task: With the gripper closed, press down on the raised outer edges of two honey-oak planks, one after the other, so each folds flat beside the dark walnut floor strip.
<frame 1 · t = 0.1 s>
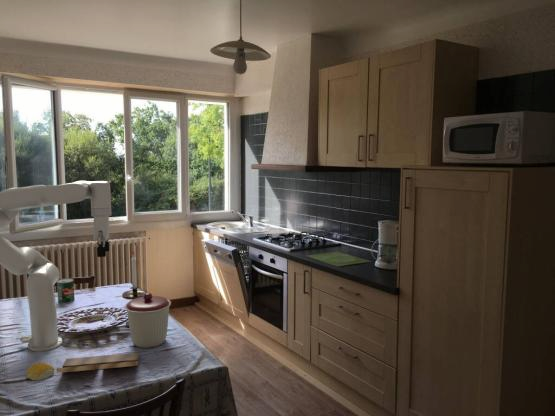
hand: (103, 253, 189), 37 cm above the table, tool pointing down, fingers open, 9 cm apart
candlestick: (136, 324, 211), on the table
bread roll: (40, 375, 165), on the table
canister: (149, 343, 192), on the table
canned tomato: (66, 301, 242), on the table
oak plank left: (78, 368, 163), point 3 cm above the table, hinge at 25.0°
oak plank right: (119, 364, 166), point 3 cm above the table, hinge at 25.0°
walnut floor strip: (102, 364, 173), on the table
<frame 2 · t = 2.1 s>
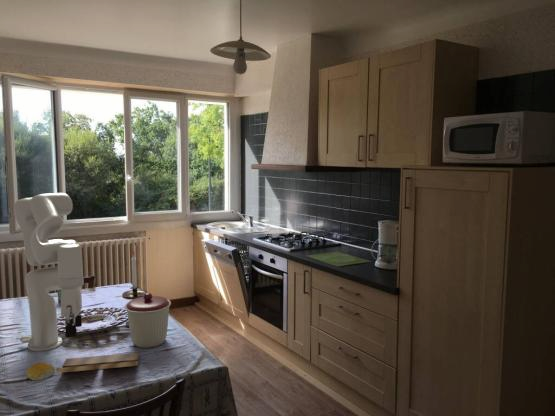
hand: (74, 331, 157), 18 cm above the table, tool pointing down, fingers open, 8 cm apart
nothing on the table moved.
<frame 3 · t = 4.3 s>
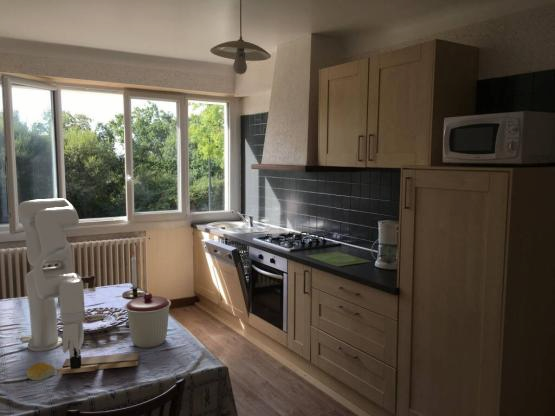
hand: (76, 367, 159), 5 cm above the table, tool pointing down, fingers closed
oak plank left: (78, 369, 163), point 3 cm above the table, hinge at 22.7°, touching gripper
everything else where it was.
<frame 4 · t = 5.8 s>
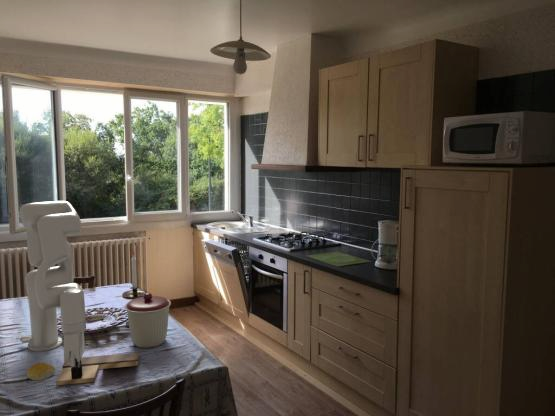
hand: (77, 377, 159), 2 cm above the table, tool pointing down, fingers closed
oak plank left: (78, 374, 163), point 1 cm above the table, hinge at 1.6°, touching gripper
everything else where it was.
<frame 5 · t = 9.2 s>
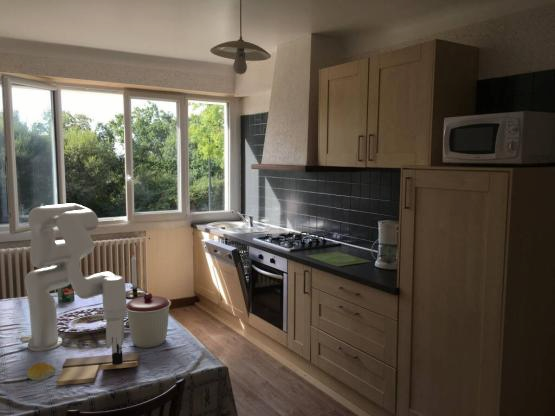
hand: (117, 363, 162), 6 cm above the table, tool pointing down, fingers closed
oak plank left: (78, 374, 163), point 1 cm above the table, hinge at 1.2°
oak plank right: (119, 365, 166), point 3 cm above the table, hinge at 23.4°, touching gripper
everything else where it was.
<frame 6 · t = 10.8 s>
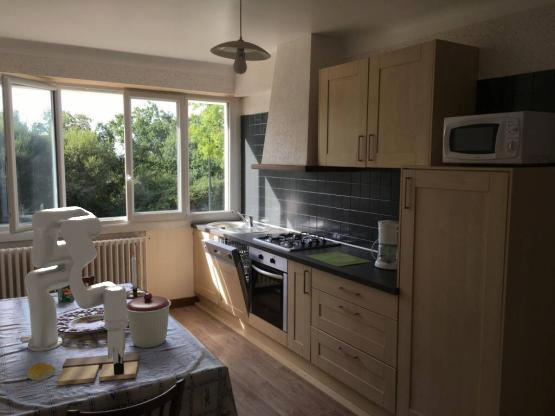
hand: (119, 373, 162), 2 cm above the table, tool pointing down, fingers closed
oak plank right: (119, 370, 165), point 1 cm above the table, hinge at 2.0°, touching gripper
everything else where it was.
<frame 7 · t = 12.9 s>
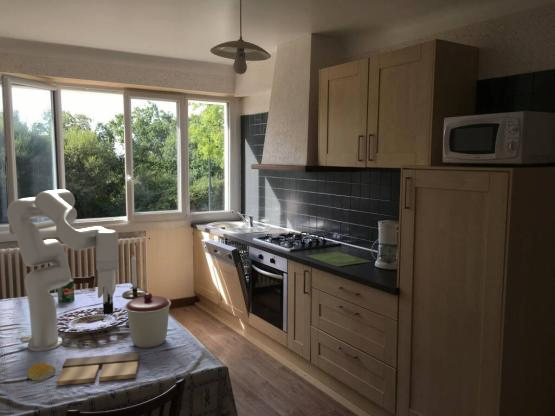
hand: (108, 313, 170), 20 cm above the table, tool pointing down, fingers closed
oak plank right: (119, 370, 165), point 1 cm above the table, hinge at 1.7°
everything else where it was.
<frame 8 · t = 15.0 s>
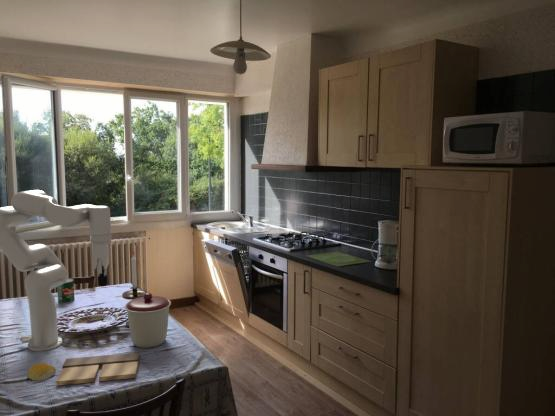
hand: (103, 285, 179), 27 cm above the table, tool pointing down, fingers closed
nothing on the table moved.
at the end: oak plank left at +1° (first picture: +25°); oak plank right at +2° (first picture: +25°) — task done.
